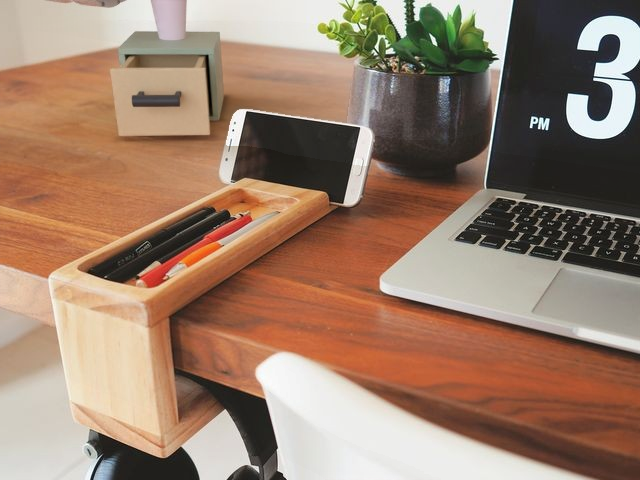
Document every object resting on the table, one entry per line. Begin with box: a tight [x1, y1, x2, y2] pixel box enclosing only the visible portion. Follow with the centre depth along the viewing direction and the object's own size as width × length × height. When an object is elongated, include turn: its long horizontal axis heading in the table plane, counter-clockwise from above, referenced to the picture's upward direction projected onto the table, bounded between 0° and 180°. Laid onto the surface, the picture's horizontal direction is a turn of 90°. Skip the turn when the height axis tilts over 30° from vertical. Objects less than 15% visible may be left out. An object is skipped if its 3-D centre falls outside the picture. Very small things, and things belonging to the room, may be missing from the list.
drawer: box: [109, 54, 211, 137], centre depth 95 cm, size 18×11×8 cm, turn 7°
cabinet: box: [117, 30, 225, 122], centre depth 105 cm, size 15×13×10 cm
